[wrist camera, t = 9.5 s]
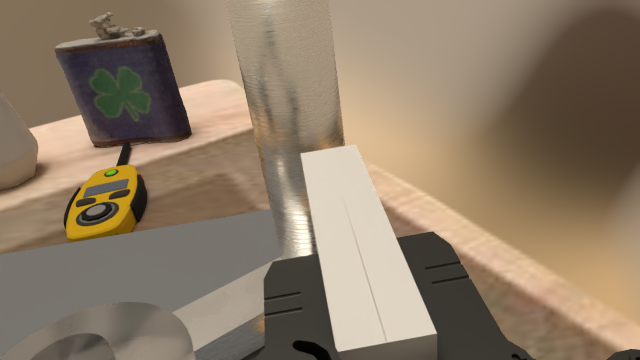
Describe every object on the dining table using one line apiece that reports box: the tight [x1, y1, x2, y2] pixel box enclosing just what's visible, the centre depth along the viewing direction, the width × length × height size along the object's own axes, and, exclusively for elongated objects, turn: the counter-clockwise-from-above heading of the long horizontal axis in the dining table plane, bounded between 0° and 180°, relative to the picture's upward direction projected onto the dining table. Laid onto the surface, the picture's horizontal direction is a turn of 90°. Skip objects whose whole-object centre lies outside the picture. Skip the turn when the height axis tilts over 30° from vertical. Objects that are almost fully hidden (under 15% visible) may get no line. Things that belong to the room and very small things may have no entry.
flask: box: [55, 12, 192, 147], centre depth 40 cm, size 9×3×11 cm, turn 84°
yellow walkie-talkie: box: [64, 141, 147, 243], centre depth 34 cm, size 5×2×15 cm
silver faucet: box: [0, 0, 345, 360], centre depth 15 cm, size 16×8×14 cm, turn 124°
